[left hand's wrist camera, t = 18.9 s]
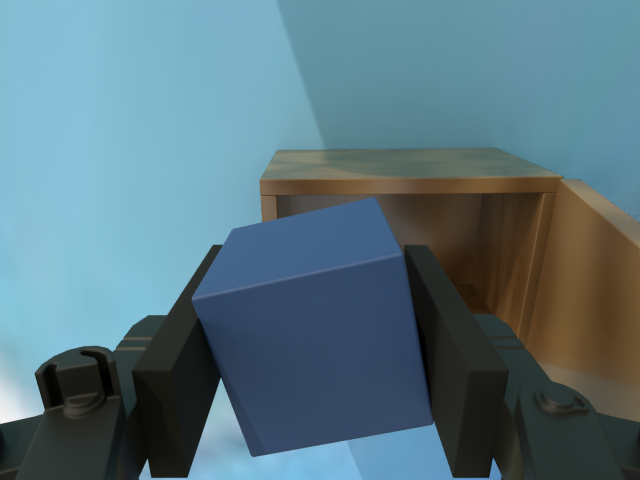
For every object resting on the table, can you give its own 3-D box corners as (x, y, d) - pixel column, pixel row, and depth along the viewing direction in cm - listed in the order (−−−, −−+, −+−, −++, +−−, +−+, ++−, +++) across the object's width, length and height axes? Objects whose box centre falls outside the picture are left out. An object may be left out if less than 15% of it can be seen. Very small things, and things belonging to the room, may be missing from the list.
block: (270, 349, 16) (251, 458, 11) (231, 228, 14) (189, 299, 10) (400, 323, 15) (434, 425, 11) (375, 195, 14) (404, 252, 9)
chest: (283, 290, 34) (271, 360, 25) (276, 150, 30) (259, 179, 21) (476, 288, 34) (527, 358, 25) (496, 147, 30) (564, 176, 21)
